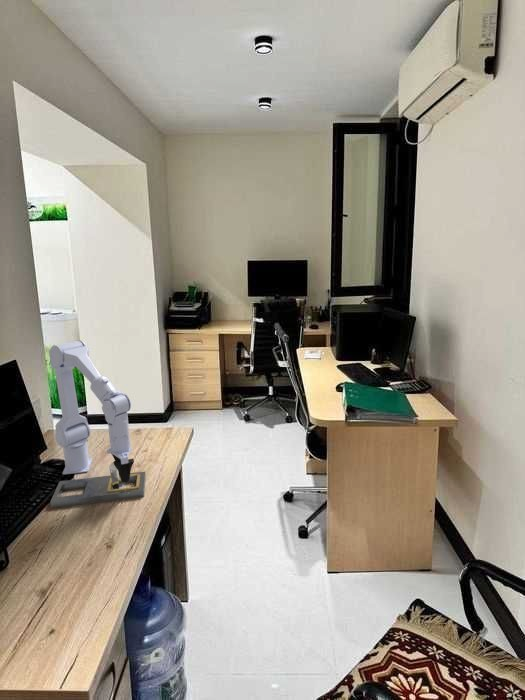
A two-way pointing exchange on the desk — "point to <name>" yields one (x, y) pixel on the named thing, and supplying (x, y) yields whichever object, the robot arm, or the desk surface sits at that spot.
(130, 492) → the grey board with holes
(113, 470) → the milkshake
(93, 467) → the desk surface
